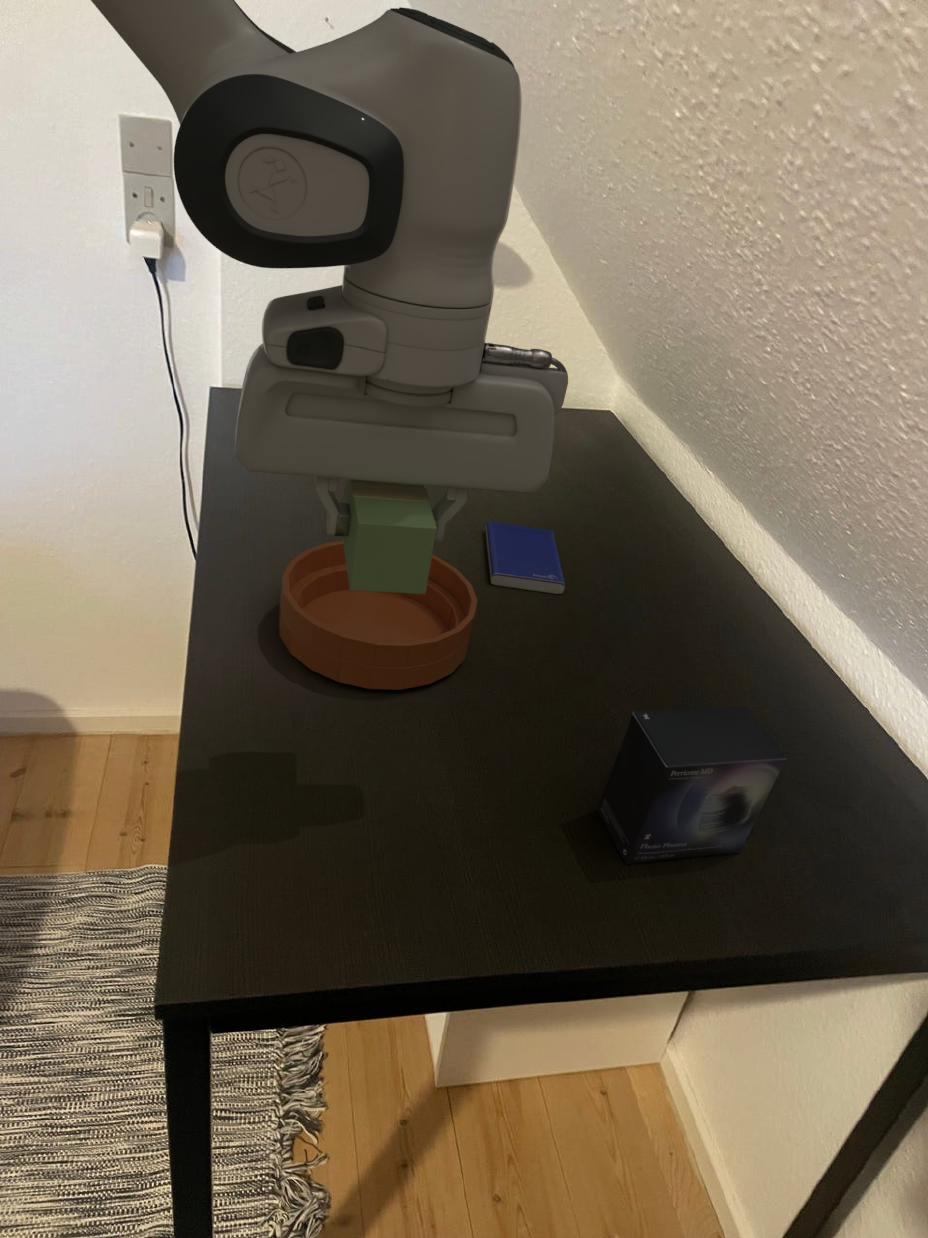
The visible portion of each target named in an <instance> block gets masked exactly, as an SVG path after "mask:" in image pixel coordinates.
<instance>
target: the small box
mask: <svg viewBox="0 0 928 1238" xmlns="http://www.w3.org/2000/svg"><path fill="white" fill-rule="evenodd" d="M786 761H787V757H786V755H785V754H784V752H783V751H782V750H781V748H780V747H779V745H778V744H777V743H776V742H775V740H774V739H773V738H772V737H771V735H770V734H769V733H768V732H767V730H766V729H765V728H764V726H763V725H762V723H760V721H759V719H757V717H756V716H755V715H754V713H753V712H752V711H751V709H750V708H749V707H748V706H747V705H744V706H729V707H727V706H725V707H724V706H723V707H704V708H703V707H702V708H682V709H661V710H660V709H657V710H635V711H632V712H631V714H630V718H629V722H628V725H627V728H626V731H625V733H624V736H623V738H622V741H621V743H620V747H619V750H618V752H617V755H616V757H615V760H614V763H613V766H612V768H611V771H610V773H609V776H608V779H607V782H606V785H605V788H604V790H603V792H602V793H601V794H602V795H601V797H600V800H598V801H599V802H598V804H597V806H596V808H595V809H596V810H597V813H598V815H599V816H600V818H601V819H602V822H603V823H604V824H605V827H606V829H607V830H608V833H609V835H610V836H611V838H612V840H613V842H614V844H615V848H616V849H617V851H618V852H619V854H620V856H621V858H622V860H623V861H624V863H625V864H628V865H631V864H641V863H651V862H660V861H669V860H671V861H672V860H681V859H690V858H700V857H701V858H702V857H710V856H711V857H712V856H720V855H721V856H722V855H731V854H740V853H741V851H742V849H743V847H744V845H745V843H746V842H747V839H748V837H749V835H750V833H751V831H752V829H753V827H754V825H755V823H756V821H757V818H758V817H759V814H760V813H761V811H762V808H763V807H764V804H765V803H766V800H767V799H768V796H769V794H770V792H771V791H772V789H773V787H774V785H775V784H776V783H775V782H776V780H777V778H778V777H779V775H780V772H781V771H782V768H783V767H784V765H785V762H786Z"/></svg>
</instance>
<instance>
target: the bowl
mask: <svg viewBox="0 0 928 1238" xmlns="http://www.w3.org/2000/svg"><path fill="white" fill-rule="evenodd" d="M477 607H478V598H477V596H476V592H475V590H474V586H473V585H472V584H471V582H470V581H469V580H468V579H467V578H466V577H465V576H464V575H463V574H462V572H461V571H460V570H459V569H457V568H456V567H454V566H453V565H451V564H449V563H448V562H446V561H445V560H443V559H441V558H440V557H439V556H437V555H434V554H432V559H431V565H430V571H429V577H428V582H427V588H426V593H425V594H410V593H390V592H371V591H351V590H350V588H349V581H348V573H347V566H346V559H345V551H344V544H343V540H336V541H330V542H326V543H324V544H323V543H322V544H320V545H317V546H314V547H310V548H308V549H306V550H305V551H303V552H302V553H300V554H298V555H297V556H295V557H294V558H293V559H291V560H290V562H289V563H288V565H287V567H286V568H285V570H284V572H283V573H282V575H281V585H280V597H279V610H278V632H279V633H278V634H279V637H280V639H281V641H282V642H283V644H284V645H285V647H286V649H287V651H288V652H289V654H290V655H292V656H293V657H294V658H295V659H296V660H298V661H299V662H300V663H301V664H303V665H304V666H305V667H306V668H308V669H309V670H311V671H313V672H315V673H317V674H319V675H321V676H324V677H326V678H328V679H330V680H333V681H335V682H338V683H340V684H346V685H350V686H355V687H360V688H363V689H368V690H395V691H397V690H398V691H399V690H406V689H412V688H417V687H422V686H427V685H431V684H433V683H435V682H438V681H439V680H442V679H444V678H445V677H447V676H449V675H451V674H453V672H455V670H457V668H458V667H459V666H460V665H461V664H462V663H463V662H464V661H465V659H466V656H467V653H468V652H467V651H468V647H469V643H470V639H471V634H472V629H473V625H474V620H475V615H476V611H477Z"/></svg>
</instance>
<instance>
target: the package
mask: <svg viewBox="0 0 928 1238" xmlns="http://www.w3.org/2000/svg"><path fill="white" fill-rule="evenodd" d="M342 503H349V506H350V513H351V520H350V526H349V536H348V537H345V536H341V537H342V541H343V544H344V551H345V559H346V566H347V573H348V581H349V588H350V590H351V591H371V592H390V593H410V594H425V593H426V588H427V582H428V577H429V571H430V565H431V559H432V555H434V554H433V553H434V548H435V547H434V546H435V543H436V542H435V536H436V531H437V527H436V524H435V521H434V518H433V514H432V511H431V509H432V508H431V505H430V504H431V500H430V497H429V493H428V490H427V488H426V487H425V485H414V484H402V483H389V482H377V481H365V480H352V479H344V491H343V498H342Z"/></svg>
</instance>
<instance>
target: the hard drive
mask: <svg viewBox="0 0 928 1238" xmlns="http://www.w3.org/2000/svg"><path fill="white" fill-rule="evenodd" d="M485 539H486V549H487V559H488V569H489V578H490V584H491V585H493V586H498V587H505V588H511V589H512V588H513V589H519V590H527V591H534V592H541V593H548V594H555V595H561V594H564V591H565V587H566V581H565V579H564V578H565V577H564V574H563V569H562V564H561V561H560V556H559V552H558V547H557V543H556V540H555V533H554V531H552V530H550V529H545V528H538V527H533V526H532V527H531V526H525V525H519V524H511V523H504V522H497V521H487V522H486V526H485Z"/></svg>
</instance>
